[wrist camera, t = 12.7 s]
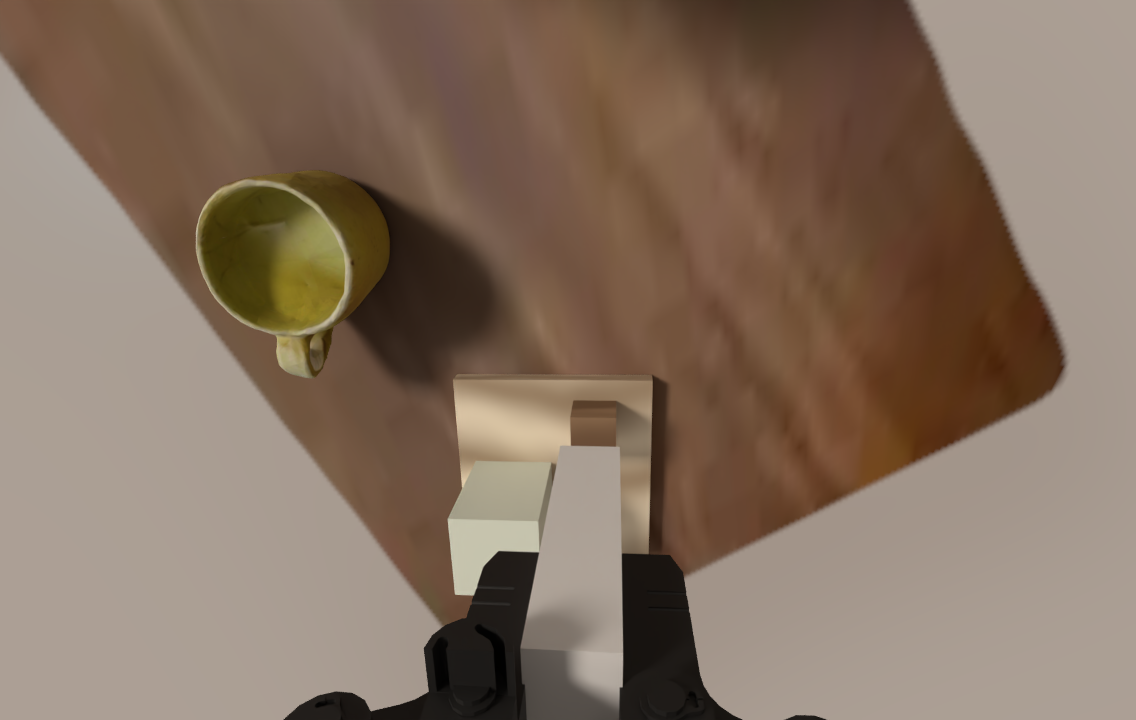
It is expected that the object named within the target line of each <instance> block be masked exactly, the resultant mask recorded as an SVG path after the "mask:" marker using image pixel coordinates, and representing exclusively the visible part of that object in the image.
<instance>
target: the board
mask: <svg viewBox="0 0 1136 720" xmlns="http://www.w3.org/2000/svg"><path fill="white" fill-rule="evenodd" d="M453 386H454V397H455V409H456V420H457V432H458V443H459V455H460V466H461V478H462V489H463V487H464V484H465V482H466V480H467V478H468V476H469V474H470V472H471V470H472V468H473V466H474V464H475V462H476V461H509V462H551V467H552V486H553V481H554V476H555V471H556V465H557V460H558V455H559V450H560V446H603V447H620V488H621V552H622V553H632V554H649V515H650V473H651V431H652V389H653V380H652V375H562V374H457V375H456V376H455V378H454V379H453Z"/></svg>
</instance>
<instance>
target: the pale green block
mask: <svg viewBox="0 0 1136 720" xmlns="http://www.w3.org/2000/svg"><path fill="white" fill-rule="evenodd" d="M551 491H552V467H551V462H509V461H476V462H475V464H474V466H473V468H472V470H471V472H470V474H469V476H468V478H467V480H466V482H465V484H464V487H463V489H462V491H461V493H460V495H459V497H458V499H457V501H456V503H455V505H454V507H453V509H452V511H451V513H450V515H449V518H448V526H449V537H450V547H451V557H452V567H453V578H454V588H455V595H474V593H475V590H476V589H477V584H478V581H479V578H480V575H481V572H482V569H483V566H484V565H485V564H486V563H487V562H488V561H489V560H490V559H491V558H492V557H493V556H494V555H495V554H496V553H497V552H498V551H517V552H539V551H540V546H541V541H542V536H543V531H544V526H545V521H546V516H547V511H548V506H549V501H550V496H551Z"/></svg>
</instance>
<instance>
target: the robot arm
mask: <svg viewBox="0 0 1136 720" xmlns="http://www.w3.org/2000/svg"><path fill="white" fill-rule="evenodd" d="M424 654H425V663H426V671H427V679H428V688H429V692H428V693H426V694H424V695H422V696H420V697H419V698H417V699H415V700H412V701H409V702H406V703H403V704H400V705H396V706H392V707H388V708H383V709H379V710H375V711H370V710H369V707H368V706H367V704H366V702H365V700H364V699H362V698H360V697H358V696H357V695H355V694H353V693H347V692H332V693H328V694H323V695H319V696H317V697H315V698H313V699H311V700H309V701H307V702H305V703H303V704H301V705H299V706H298V707H297V708H296V709H295V710H294V711H293V712H292V713H290V714H289V715H288V716H287V717H286V718H285V719H284V720H742V719H740V718H738V717H735V716H733V715H732V714H730V713H729V712H727V711H726V710H724V709H723V708H721V707H720V706H719V705H718V704H717V703H716V702H715V701H714V700H713V699H712V698H711V697H710V696H709V694H708V692H707V690H706V689H705V687H704V685H703V682H702V679H701V676H700V672H699V666H698V660H697V654H696V648H695V643H694V636H693V631H692V624H691V618H690V613H689V606H688V600H687V596H686V588H685V582H684V576H683V572H682V570H681V569H680V568H679V567H678V565H677V564H676V563H675V561H674V560H673V559H672V557H671V556H670V555H651V554H623V553H622V552H621V488H620V447H603V446H560V450H559V455H558V460H557V465H556V471H555V476H554V481H553V486H552V491H551V496H550V501H549V506H548V511H547V516H546V521H545V526H544V531H543V536H542V541H541V546H540V551H539V552H517V551H498V552H497V553H496V554H495V555H494V556H493V557H492V558H491V559H490V560H489V561H488V562H487V563H486V564H485V565H484V566H483V569H482V572H481V575H480V578H479V581H478V584H477V589H476V590H475V593H474V596H473V599H472V605H470V608H469V611H468V614H467V618H464V619H460V620H457V621H455V622H452V623H450V624H447V625H445V626H444V627H442V628H441V629H440V630H439V631H437V632H436V633H435V634H433V635H432V637H431V638H430V640H429V641H428V643H427V644H426V646H425V647H424ZM786 720H826V719H823V718H820V717H817V716H806V715H796V716H793V717H791V718H788V719H786Z"/></svg>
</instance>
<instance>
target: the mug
mask: <svg viewBox="0 0 1136 720" xmlns="http://www.w3.org/2000/svg"><path fill="white" fill-rule="evenodd" d="M196 252H197V257H198V262H199V265H200V269H201V272H202V274H203V277H204V279H205V281H206V283H207V285H208V287H209V289H210V291H211V293H212V294H213V296H214V297H215V299H216V300H217V301H218V302H219V303H220V304H221V305H222V306H223V307H224V308H225V309H226V310H227V311H228V312H229V313H230V314H231V315H232V316H233V317H235V318H236V319H238V320H239V321H240V322H242V323H244V324H245V325H247V326H250V327H252V328H254V329H257V330H261V331H264V332H267V333H270V334H274V335H276V337H277V350H276V353H277V358H278V362H279V365H280V366H281V367H282V368H283V369H284V370H285V371H286V372H288V373H290V374H293V375H297V376H301V377H306V378H315V377H316V376H317V375H318V374H319V372H320V371H321V370H322V369H323V365H324V362H325V360H326V359H327V355H328V351H329V348H330V345H331V339H332V338H331V335H332V331H333V327H334V326H335V325H337V324H338V323H340V322H341V321H343V320H344V319H345V318H346V317H348V316H349V315H350V314H351V313H352V312H353V311H354V310H355V309H356V308H357V307H358V306H359V305H360V303H361V302H362V301H363V300H364V298H365V297H366V296H367V295H368V293H369V292H370V291H371V290H372V289H373V288H374V286H375V285H376V284H377V282H378V281H379V280H380V279H381V277H382V276H383V274H384V272H385V270H386V268H387V265H388V262H389V255H390V237H389V231H388V226H387V223H386V220H385V218H384V216H383V214H382V212H381V210H380V208H379V207H378V205H377V203H376V202H375V201H374V200H373V199H372V197H371V196H370V195H369V194H368V193H367V192H366V191H365V190H364V189H362V188H361V187H360V186H359V185H357V184H356V183H354V182H353V181H351V180H349V179H348V178H346V177H344V176H341V175H338V174H335V173H331V172H327V171H320V170H311V171H299V172H292V173H286V174H271V175H263V176H254V177H248V178H244V179H241V180H238V181H234V182H231V183H228V184H226V185H224V186H222V187H220V188H219V189H218V190H217V191H216V192H215V193H214V194H213V195H212V196H211V197H210V199H209V200H208V201H207V202H206V204H205V206H204V207H203V210H202V212H201V214H200V217H199V221H198V225H197V229H196Z"/></svg>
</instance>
